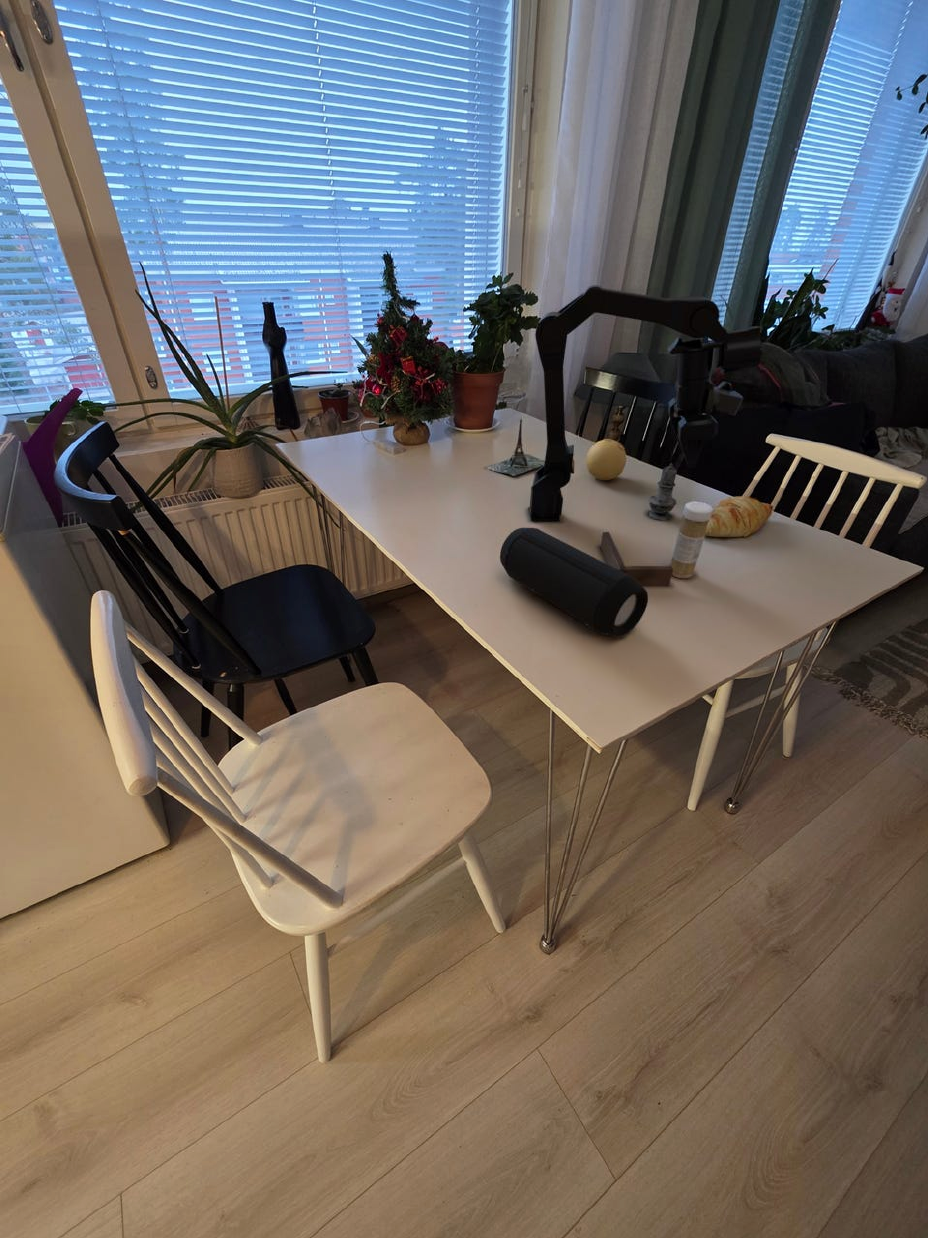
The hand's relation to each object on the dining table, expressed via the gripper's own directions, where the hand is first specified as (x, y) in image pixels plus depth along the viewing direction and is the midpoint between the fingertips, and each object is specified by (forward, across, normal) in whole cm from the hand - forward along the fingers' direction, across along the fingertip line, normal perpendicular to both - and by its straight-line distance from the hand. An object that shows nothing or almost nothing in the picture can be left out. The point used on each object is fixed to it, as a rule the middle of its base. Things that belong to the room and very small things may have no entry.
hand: (687, 459), depth 106 cm
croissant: (+17, +1, -10) cm, 20 cm away
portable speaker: (+11, -34, +24) cm, 43 cm away
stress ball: (+12, +25, +16) cm, 32 cm away
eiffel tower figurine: (+9, +30, +38) cm, 49 cm away
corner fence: (+13, -19, +12) cm, 26 cm away
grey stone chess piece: (+14, +5, +4) cm, 15 cm away
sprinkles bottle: (+14, -21, +3) cm, 25 cm away
